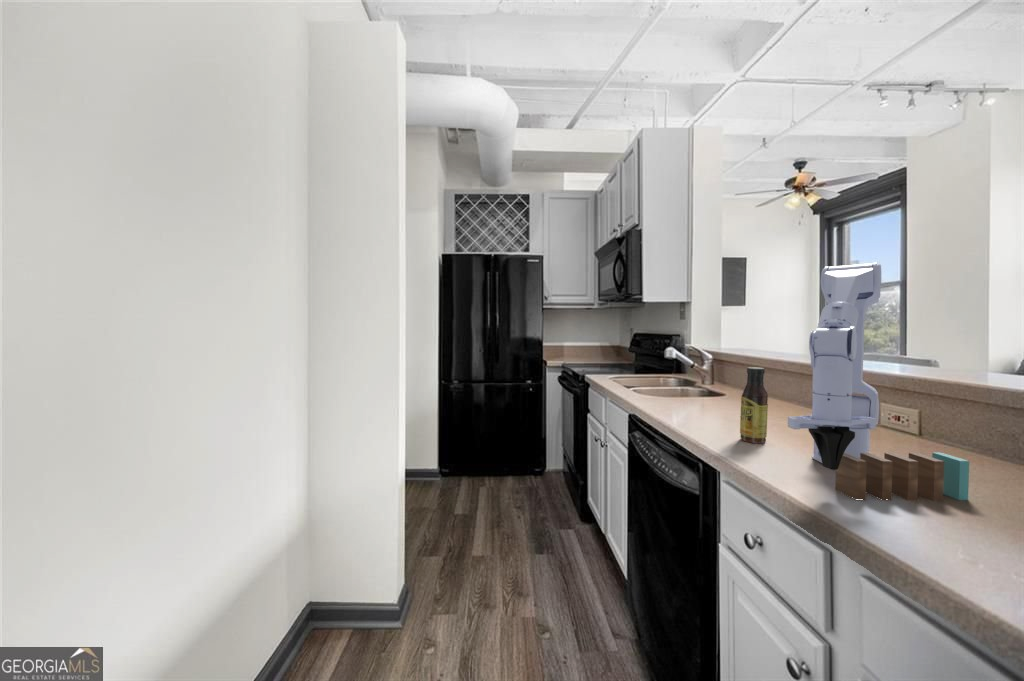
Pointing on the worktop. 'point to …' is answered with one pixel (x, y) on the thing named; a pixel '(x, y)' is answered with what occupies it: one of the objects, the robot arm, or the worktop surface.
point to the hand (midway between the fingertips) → (830, 467)
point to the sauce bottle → (754, 408)
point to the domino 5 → (954, 476)
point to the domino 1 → (851, 477)
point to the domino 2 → (878, 476)
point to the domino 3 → (903, 476)
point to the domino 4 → (929, 476)
